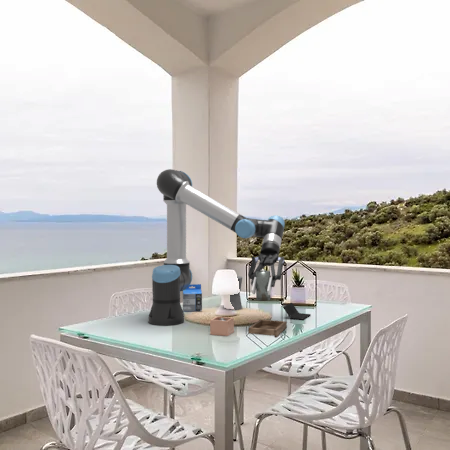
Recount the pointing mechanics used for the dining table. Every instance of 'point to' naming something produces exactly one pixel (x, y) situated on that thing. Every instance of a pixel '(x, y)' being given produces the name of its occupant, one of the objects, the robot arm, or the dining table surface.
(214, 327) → the terracotta square pot
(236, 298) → the coffeepot
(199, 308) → the label tape box
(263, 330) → the brown wooden tray
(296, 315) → the handheld gaming console
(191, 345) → the dining table surface
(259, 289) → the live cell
